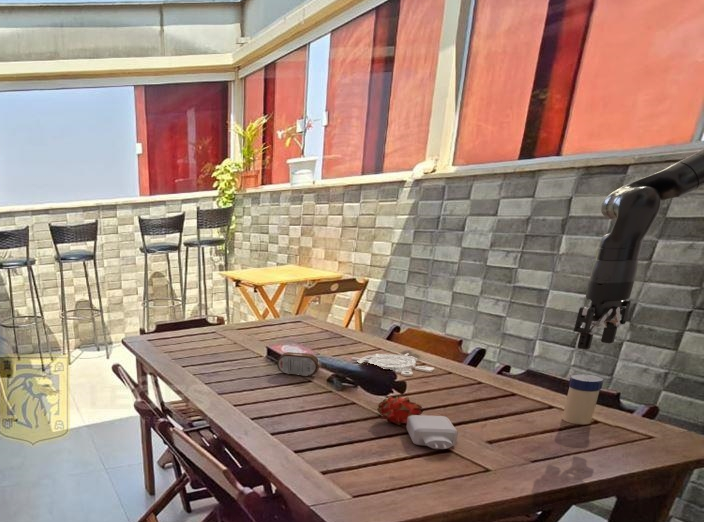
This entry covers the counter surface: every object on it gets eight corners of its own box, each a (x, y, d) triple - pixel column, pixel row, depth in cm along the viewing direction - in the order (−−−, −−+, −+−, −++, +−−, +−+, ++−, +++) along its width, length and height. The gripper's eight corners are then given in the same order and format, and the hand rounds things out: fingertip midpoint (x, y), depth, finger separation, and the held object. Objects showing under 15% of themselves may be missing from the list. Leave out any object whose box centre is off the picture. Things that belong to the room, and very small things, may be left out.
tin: (319, 375, 181) (320, 353, 178) (316, 378, 179) (317, 356, 176) (278, 371, 190) (279, 351, 187) (276, 374, 188) (276, 353, 185)
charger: (418, 456, 119) (406, 431, 132) (463, 458, 116) (446, 432, 129) (420, 438, 118) (407, 414, 131) (466, 440, 114) (448, 416, 127)
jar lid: (573, 381, 128) (575, 372, 127) (604, 386, 123) (607, 377, 123) (564, 387, 125) (566, 378, 125) (596, 392, 121) (598, 383, 120)
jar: (566, 414, 131) (576, 374, 127) (594, 420, 127) (605, 379, 123) (558, 420, 128) (567, 380, 125) (586, 426, 124) (597, 384, 120)
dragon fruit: (371, 426, 140) (416, 431, 138) (382, 419, 132) (431, 425, 130) (371, 398, 142) (416, 402, 140) (383, 390, 134) (431, 394, 132)
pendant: (404, 352, 195) (404, 349, 195) (442, 373, 169) (442, 370, 169) (348, 357, 198) (348, 353, 198) (376, 378, 172) (377, 374, 172)
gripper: (612, 273, 120) (596, 338, 126) (571, 281, 116) (557, 347, 122) (652, 275, 113) (634, 343, 119) (610, 284, 110) (593, 354, 115)
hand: (595, 345), depth 120 cm, fingers open, 8 cm apart
